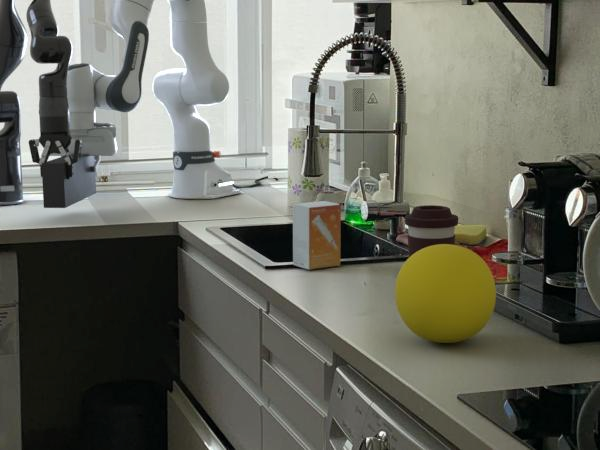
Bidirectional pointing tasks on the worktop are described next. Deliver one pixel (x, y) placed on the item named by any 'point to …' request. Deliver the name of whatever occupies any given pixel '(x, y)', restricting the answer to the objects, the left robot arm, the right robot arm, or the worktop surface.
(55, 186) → the box
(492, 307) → the toy
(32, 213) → the worktop surface
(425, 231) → the coffee cup
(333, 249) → the small box
